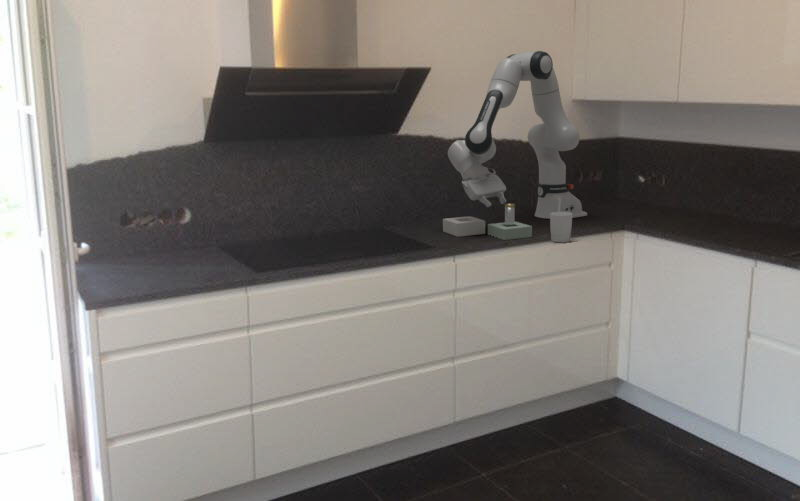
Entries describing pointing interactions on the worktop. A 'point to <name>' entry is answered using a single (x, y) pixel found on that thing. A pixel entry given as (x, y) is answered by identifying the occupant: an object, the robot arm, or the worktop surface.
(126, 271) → the worktop surface
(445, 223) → the grey block with hole
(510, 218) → the silver gold-banded cylinder
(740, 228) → the worktop surface
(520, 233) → the socket block
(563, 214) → the white cup
